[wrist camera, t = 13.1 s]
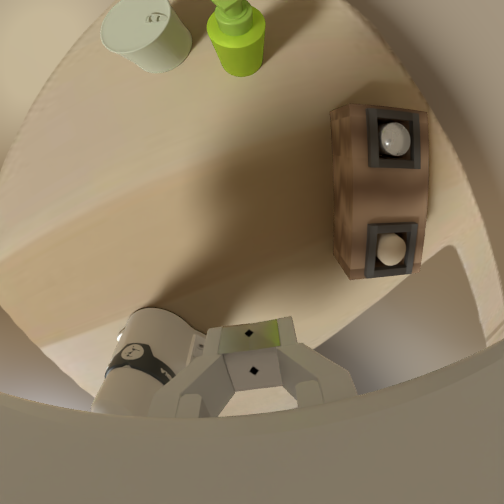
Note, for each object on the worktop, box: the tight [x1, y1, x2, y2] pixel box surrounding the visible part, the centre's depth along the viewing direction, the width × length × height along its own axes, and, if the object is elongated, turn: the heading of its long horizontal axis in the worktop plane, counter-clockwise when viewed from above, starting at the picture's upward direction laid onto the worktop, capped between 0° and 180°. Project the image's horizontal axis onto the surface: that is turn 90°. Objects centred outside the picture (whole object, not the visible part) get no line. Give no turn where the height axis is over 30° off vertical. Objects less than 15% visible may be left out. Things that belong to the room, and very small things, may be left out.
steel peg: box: [377, 123, 410, 156], centre depth 32 cm, size 4×4×8 cm
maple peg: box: [376, 233, 406, 266], centre depth 37 cm, size 4×4×8 cm
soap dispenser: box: [207, 0, 265, 77], centre depth 24 cm, size 6×7×20 cm
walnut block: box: [330, 104, 429, 280], centre depth 35 cm, size 22×11×10 cm, turn 5°
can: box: [100, 0, 192, 73], centre depth 27 cm, size 9×9×12 cm
